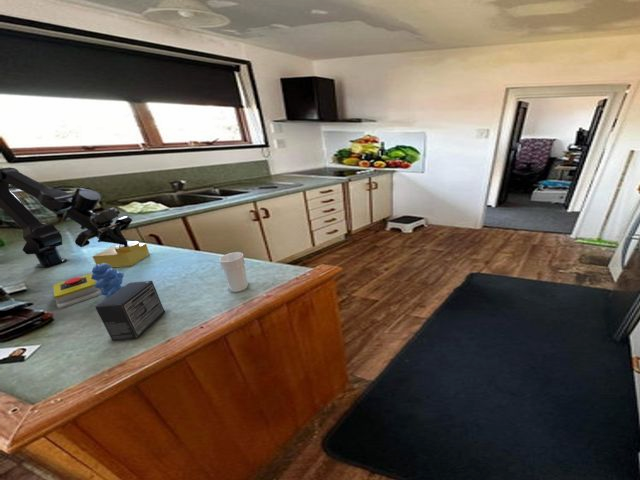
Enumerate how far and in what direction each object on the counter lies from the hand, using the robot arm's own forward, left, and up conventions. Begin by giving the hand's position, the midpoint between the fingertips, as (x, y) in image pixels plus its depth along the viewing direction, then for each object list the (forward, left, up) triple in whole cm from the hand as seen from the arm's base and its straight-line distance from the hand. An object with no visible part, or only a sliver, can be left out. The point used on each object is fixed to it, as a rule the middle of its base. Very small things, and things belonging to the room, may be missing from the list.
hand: (126, 244), depth 106 cm
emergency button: (+9, -20, -8) cm, 24 cm away
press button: (0, 0, -2) cm, 2 cm away
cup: (+58, -2, -8) cm, 59 cm away
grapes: (+24, -17, -8) cm, 31 cm away
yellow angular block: (-3, -1, -7) cm, 8 cm away
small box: (+47, -24, -8) cm, 54 cm away
